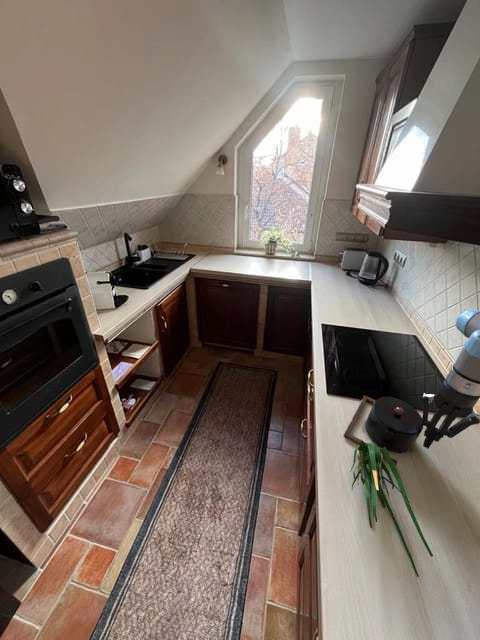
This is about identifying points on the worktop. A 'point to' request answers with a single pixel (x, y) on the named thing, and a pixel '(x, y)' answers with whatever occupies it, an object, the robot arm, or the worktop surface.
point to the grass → (373, 473)
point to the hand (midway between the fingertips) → (426, 444)
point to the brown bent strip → (347, 433)
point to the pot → (393, 424)
